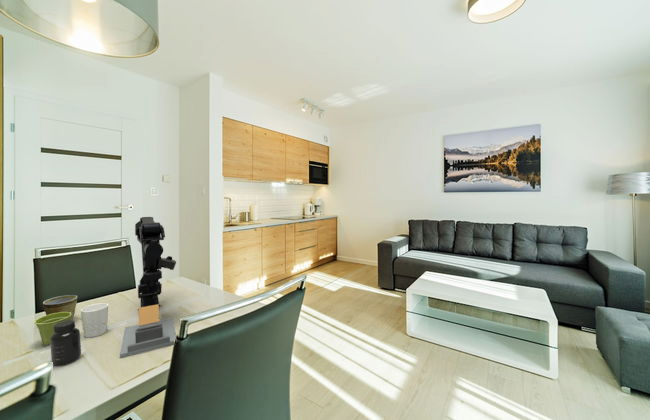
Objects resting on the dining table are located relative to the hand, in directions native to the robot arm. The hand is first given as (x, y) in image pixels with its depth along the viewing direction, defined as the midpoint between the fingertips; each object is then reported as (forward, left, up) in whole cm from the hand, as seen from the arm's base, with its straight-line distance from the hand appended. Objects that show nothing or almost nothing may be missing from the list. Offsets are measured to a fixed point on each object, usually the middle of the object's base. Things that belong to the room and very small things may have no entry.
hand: (152, 291), depth 111 cm
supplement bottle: (-8, -27, -13) cm, 31 cm away
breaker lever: (+10, -14, -7) cm, 19 cm away
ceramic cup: (-37, -6, -13) cm, 40 cm away
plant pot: (-24, -18, -13) cm, 33 cm away
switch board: (+7, -11, -13) cm, 18 cm away
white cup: (-15, -11, -13) cm, 23 cm away
